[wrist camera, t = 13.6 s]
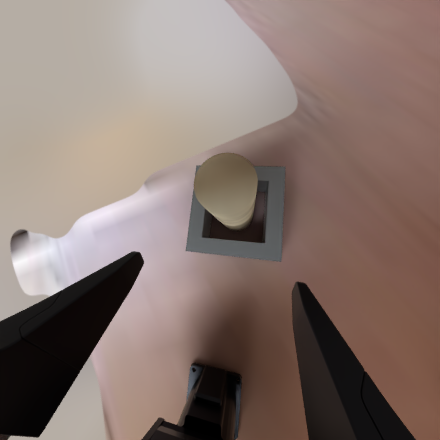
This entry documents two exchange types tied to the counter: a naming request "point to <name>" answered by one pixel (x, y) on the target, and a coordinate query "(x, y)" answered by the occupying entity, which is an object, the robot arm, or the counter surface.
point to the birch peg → (227, 189)
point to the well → (267, 250)
